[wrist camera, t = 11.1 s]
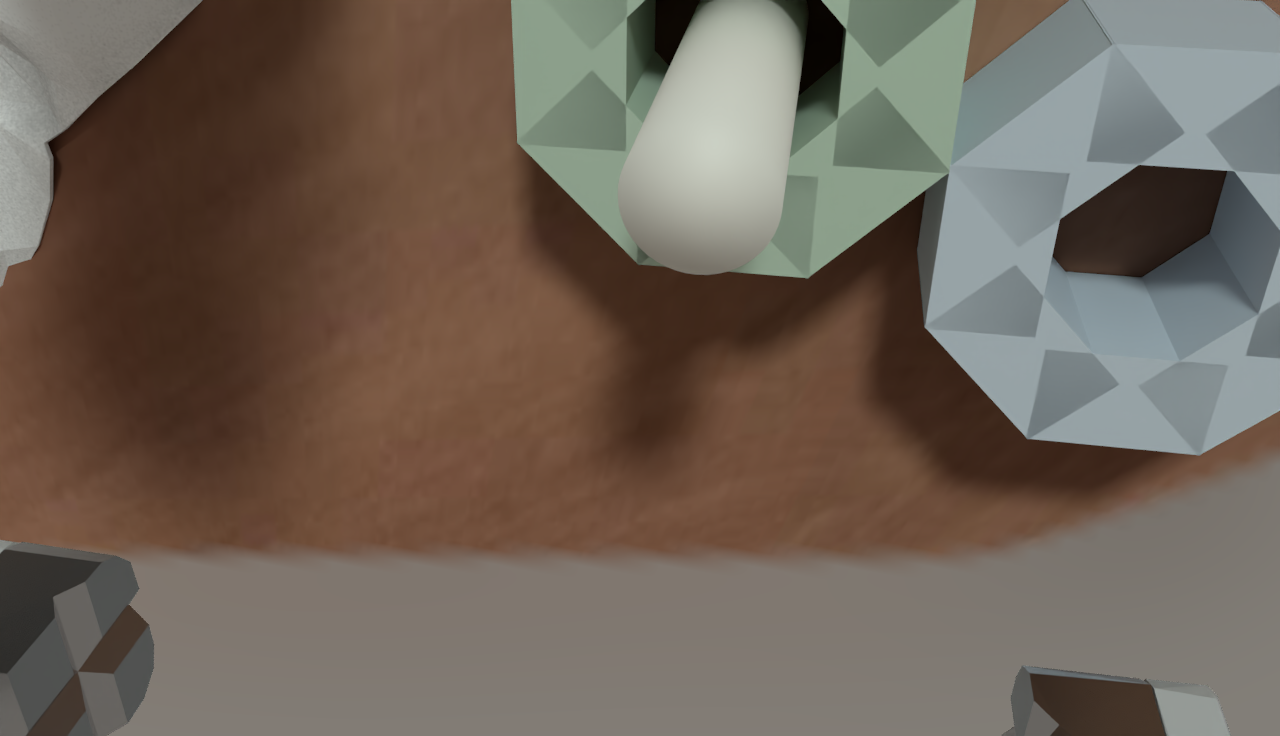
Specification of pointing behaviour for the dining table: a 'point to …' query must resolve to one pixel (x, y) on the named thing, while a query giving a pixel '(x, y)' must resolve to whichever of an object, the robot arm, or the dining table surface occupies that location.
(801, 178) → the bead
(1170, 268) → the bead
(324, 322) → the dining table surface
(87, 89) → the cloth
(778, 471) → the dining table surface
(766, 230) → the dowel
